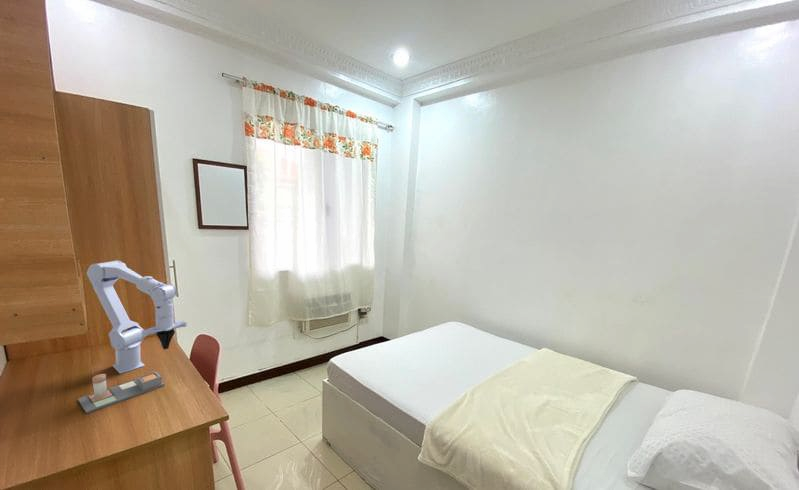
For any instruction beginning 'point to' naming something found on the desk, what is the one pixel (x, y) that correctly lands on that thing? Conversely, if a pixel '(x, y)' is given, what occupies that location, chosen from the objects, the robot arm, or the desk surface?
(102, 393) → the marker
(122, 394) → the grey sorting board
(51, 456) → the desk surface
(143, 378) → the button
